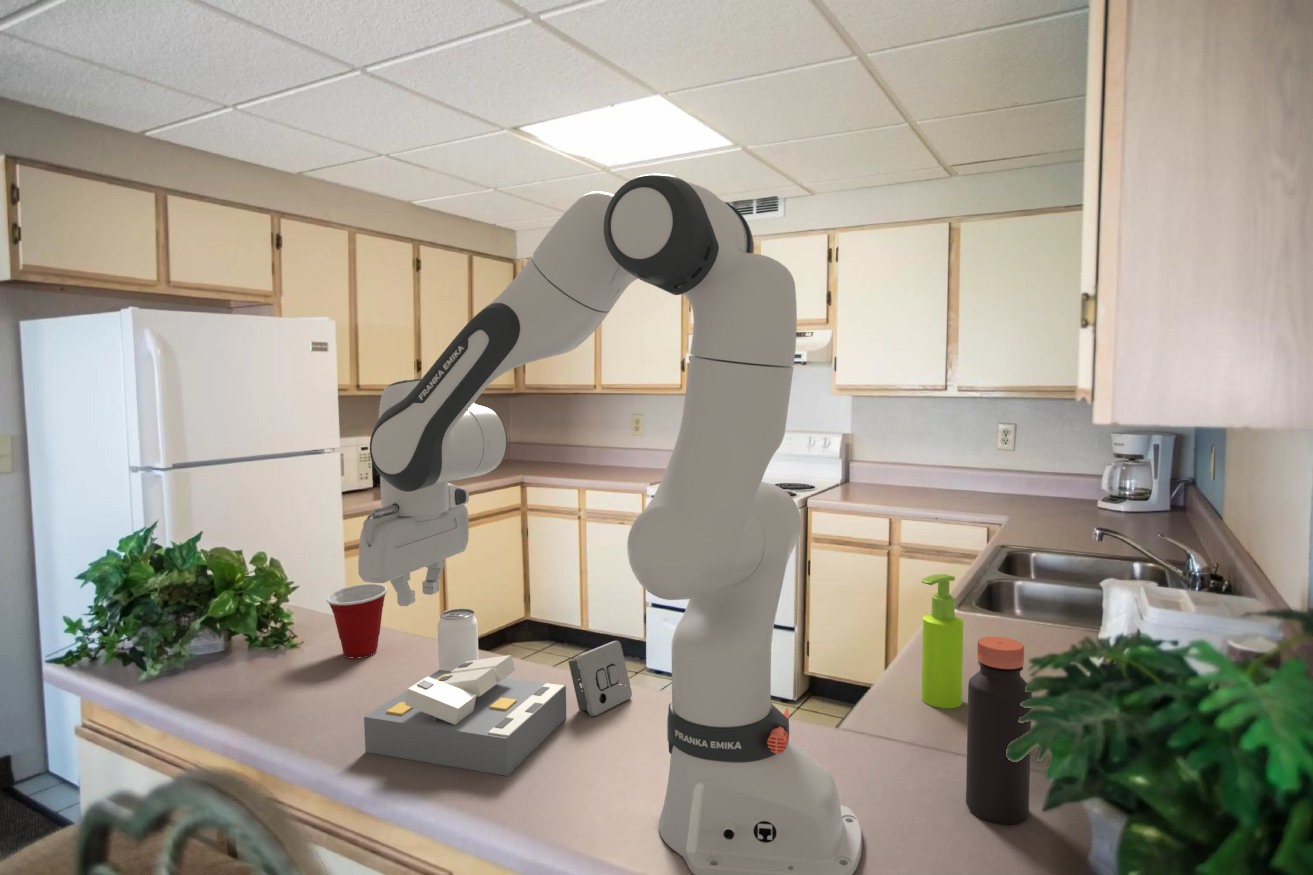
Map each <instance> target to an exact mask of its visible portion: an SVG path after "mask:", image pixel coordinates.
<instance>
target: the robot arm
mask: <svg viewBox="0 0 1313 875" xmlns="http://www.w3.org/2000/svg"><path fill="white" fill-rule="evenodd" d="M638 279H639V280H640V281H641V282H644V283H646V284H649V285H652V286H654V287H656V288H659V289H661V290H662V291H665V292H667V293H668V294H671V295H673V296H680V295H683V296H685V297H686V299H687V301H688V302H689V304H690V305H691V310H692V316H693V330H692V338H691V345H690V356H689V363H688V371H687V379H686V387H685V388H686V389H685V394H684V401H683V402H684V404H683V411H682V417H681V424H680V427H679V431H678V434H677V439H676V442H675V445H674V447H673V450H672V452H671V455H670V458H669V461H668V463H667V466H666V469H665V470H664V473H663V476H662V479H661V480H660V483H659V485H658V487H657V489H656V491H655V493H654V494H653V497H652V498H651V500H650V501H649V503H648V505H647V506H646V507H645V508H644V510H642V512H641V513H640V514H639V515H638V516H637V517H636V519H635V520H634V522H633V523H632V524H631V528H630V530H629V533H628V537H627V543H626V546H627V558H628V562H629V566H630V569H631V572H632V573H633V576H634V577H635V580H637V582H638V583H639V584H640V586H642V587H643V588H644V589H645V590H646V591H647V592H648V593H650V594H651V595H653V596H655V597H657V598H659V599H662V600H665V601H678V600H680V601H682V600H685V601H686V600H688V603H687V605H686V607H685V611H684V613H683V615H682V617H681V619H680V621H679V622H678V623H677V626H676V627H675V629H674V632H673V635H672V638H671V702H670V703H669V705H668V713H667V717H666V718H667V720H666V721H667V723H666V726H667V727H666V729H667V730H666V731H667V732H666V735H667V737H666V738H667V739H666V740H667V742H668V744H667V745H668V753H669V754H670V760H669V761H670V762H669V772H668V780H667V786H666V793H665V798H664V803H663V806H662V810H661V813H660V816H659V819H658V830H659V834H660V836H661V838H662V839H663V841H664V842H665V843H666V845H667V846H669V848H671V849H672V850H673V851H674V852H676V853H677V854H679V855H680V856H681V857H682V858H683V859H684V861H685V863H686V865H687V867H688V868H689V870H690V871H691V873H692V874H693V875H854V873H855V872H856V870H857V868H858V866H859V863H860V859H861V857H862V851H863V850H862V848H863V837H862V827H861V824H860V822H859V819H858V817H857V816H856V814H855V813H854V812H853V811H852V809H851V808H850V807H849V806H846V805H843V804H841V802H840V796H839V793H838V788H837V786H836V782H835V780H834V778H833V776H832V774H831V773H830V771H829V770H828V769H827V768H826V767H825V766H823V765H822V764H821V763H819V761H817V760H816V759H814V758H813V757H812V756H810V755H809V754H808V753H806V752H805V751H804V750H803V749H802V748H800V747H799V746H798V745H796V743H794V742H793V741H791V739H790V721H789V720H790V718H789V717H790V713H789V712H790V711H789V708H788V707H786V708H785V709H784V712H783V713H782V712H781V710H779V709H778V708H777V707H776V706H775V705H774V704H773V703H772V701H771V693H772V692H771V689H772V688H771V683H772V681H771V680H772V644H773V643H772V642H773V634H774V627H775V622H776V617H777V612H778V611H777V610H778V607H779V602H780V597H781V593H782V589H783V584H784V579H785V574H786V570H787V568H788V563H789V560H790V557H791V555H792V553H793V550H794V548H795V546H796V545H797V543H798V541H799V539H800V535H801V530H802V519H801V513H800V510H799V507H798V505H797V504H796V502H795V500H794V499H793V497H792V496H791V495H790V493H788V492H787V491H786V490H785V489H784V488H782V487H780V486H779V485H776V484H773V483H769V482H765V481H762V480H763V478H764V475H765V473H766V472H767V469H768V466H769V465H770V464H769V463H770V462H771V460H772V458H773V456H774V455H775V453H776V452H777V451H778V450H779V448H780V447H781V445H782V442H783V440H784V438H785V434H786V426H787V420H788V419H787V418H788V412H789V403H790V397H791V396H790V395H791V389H792V381H793V374H794V373H793V372H794V366H795V358H796V357H795V356H796V350H797V349H796V347H797V346H796V345H797V327H798V326H797V323H798V315H797V311H798V310H797V309H798V308H797V307H798V306H797V293H796V292H797V291H796V282H795V279H794V276H793V275H792V272H791V271H790V270H789V269H788V267H786V265H784V264H783V263H782V262H780V261H778V260H776V259H774V258H772V257H770V256H767V255H765V254H759V253H754V238H753V235H752V231H751V228H750V226H749V223H748V222H747V220H746V219H745V217H744V215H743V214H742V213H740V211H739V210H738V209H737V208H736V207H734V206H733V204H730V203H728V202H726V201H724V200H722V199H721V198H719V196H717V195H716V194H715V193H714V192H712V191H711V190H709V189H707V188H705V187H703V186H701V185H697V184H695V183H692V182H689V181H686V180H684V179H682V178H680V177H677V176H675V175H671V174H665V173H664V174H663V173H649V174H643V175H640V176H637V177H634V178H632V179H631V180H629V181H627V182H625V183H624V184H623V185H621V187H620V188H618V190H617V191H616V192H615V193H614V194H612V193H609V192H606V191H605V192H604V191H591V192H589V193H586V194H583V195H582V196H580V197H579V198H577V200H576V201H575V202H573V204H572V205H571V206H570V207H569V208H568V209H567V210H566V211H565V213H563V214H562V216H561V217H559V219H558V220H557V221H556V222H555V224H554V225H553V226H552V227H551V229H549V231H548V232H547V233H546V235H544V237H543V239H542V240H541V241H540V243H539V244H538V246H537V247H536V249H535V250H534V252H533V253H532V255H531V256H530V257H529V259H528V261H527V262H526V263H525V265H524V266H523V268H521V270H520V271H519V273H518V274H517V275H516V277H514V279H513V280H512V281H511V282H510V283H509V284H508V286H506V288H504V290H503V291H502V292H501V293H500V294H499V295H498V296H496V297H495V298H494V299H493V300H492V301H491V302H490V303H488V305H486V306H485V307H484V308H483V309H481V310H480V311H478V313H476V314H475V315H474V317H472V318H471V319H470V320H469V321H468V323H467V324H466V325H465V326H464V327H463V328H462V329H461V330H460V332H458V334H457V335H456V336H455V337H454V339H452V341H451V342H450V343H449V344H448V346H447V347H446V349H445V350H444V351H443V352H442V353H441V355H439V357H438V358H437V359H436V361H435V362H434V363H433V365H432V366H431V367H430V368H429V370H428V371H427V372H426V373H425V374H424V375H423V377H422V378H413V379H406V380H401V381H396V382H393V383H391V384H389V385H387V386H386V387H385V388H384V389H383V391H382V394H381V398H380V402H379V409H378V420H377V422H376V423H375V425H374V426H373V430H372V433H371V436H370V442H369V456H370V458H371V459H370V460H371V461H372V464H373V466H374V468H375V470H376V471H377V473H378V474H379V475H380V477H379V479H380V480H379V481H380V482H379V483H380V502H381V503H380V504H381V507H380V508H379V507H378V508H374V509H372V510H370V512H369V514H368V516H367V517H366V519H364V520H363V524H362V529H361V532H360V536H359V537H360V538H359V545H358V562H357V564H358V570H357V571H358V576H359V577H360V579H361V581H363V582H365V583H371V584H384V583H387V582H390V584H391V585H392V587H393V589H394V591H395V592H396V596H397V597H396V598H397V599H396V600H397V604H398V606H400V607H408V606H410V605H412V604H414V603H416V598H415V597H416V591H415V590H414V589H413V590H412V589H411V588H410V585H409V581H410V580H411V573H413V572H414V571H418V570H420V569H422V568H427V571H426V576H425V580H424V581H422V583H421V585H422V593H423V594H424V595H429V596H433V595H435V594H436V593H438V592H440V580H441V576H442V573H443V571H444V567H445V560H446V559H448V558H451V557H454V556H456V555H459V554H461V553H464V552H465V551H466V549H467V546H468V544H469V537H470V535H469V534H470V531H469V530H470V529H469V528H470V525H469V523H470V521H469V511H468V508H467V506H466V505H467V504H468V503H469V501H470V500H469V499H470V492H469V490H468V489H467V488H465V487H461V486H458V485H455V484H453V483H450V482H455V481H460V480H464V479H468V478H474V477H480V476H483V475H486V474H488V473H490V472H491V473H492V472H493V471H495V470H496V469H498V468H499V466H500V465H501V464H502V463H503V460H504V459H505V457H506V454H507V450H508V433H507V430H506V429H507V428H506V426H505V424H504V421H503V419H502V418H501V417H500V415H499V414H498V413H497V412H496V411H495V410H494V409H493V408H491V407H489V406H486V405H479V404H477V403H476V400H478V399H479V397H480V396H481V395H482V394H483V392H485V390H486V389H487V387H488V386H490V384H491V383H493V382H494V381H495V380H496V379H497V378H499V377H501V376H502V375H503V374H505V373H508V372H509V371H512V370H513V369H516V368H518V367H520V366H523V365H526V364H530V363H533V362H536V361H540V360H544V359H547V358H551V357H556V356H560V355H563V354H566V353H569V352H572V351H574V350H576V349H577V348H578V347H580V346H581V345H582V343H584V341H586V340H587V339H588V338H590V337H591V336H592V334H594V332H595V331H596V330H597V329H598V328H599V327H600V326H601V324H602V323H603V321H604V320H605V319H606V317H607V316H608V315H609V313H610V312H611V310H612V309H613V307H614V306H615V304H616V303H617V302H618V300H619V299H620V297H621V296H622V294H623V293H624V291H625V290H627V288H628V287H629V286H630V285H631V284H632V283H633V282H635V281H636V280H638Z"/></svg>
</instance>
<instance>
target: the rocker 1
mask: <svg viewBox="0 0 1313 875" xmlns="http://www.w3.org/2000/svg"><path fill="white" fill-rule="evenodd" d="M407 690H408V691H407V697H406V703H405V705H407V706H409V707H412V708H414V709H417V710H419V711H422V712H424V713H427V714H429V715H432V716H434V717H437V718H439V719H442V720H444V721H447V722H449V723H452V724H454V725H456V724H457V723H458V722H460V721H461V720H462V719H464V718H465V717H466V716H468V715H469V714H470V713H472V712H473V710H474V705H475V700H476V695H475V694H472V693H469V692H467V691H464V690H462V689H459V688H456V687H454V686H451V685H449V684H446V683H443V682H441V681H438V680H436V679H433V678H430V677H429V676H426V677H423V679H421V680H419V681H417V682H415V684H413V685H411V686H410V687H408V688H407Z"/></svg>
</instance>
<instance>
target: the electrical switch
mask: <svg viewBox="0 0 1313 875" xmlns="http://www.w3.org/2000/svg"><path fill="white" fill-rule="evenodd" d="M568 666H569V670H570V675H571V680H572V683H573V689H574V693H575V697H576V698H575V699H576V702H577V706H578V710H579V711H586V712H588V714H589V716H590V717H594V716H595V717H596V716H598V715H600V714H602V713H604V712H605V711H608V710H609V709H611V708H614V707H615V706H618V705H619V704H622V703H624V702H626V701H628V700H630V699H631V698H632V695H633V691H632V688H631V687H630V686H631V683H630V678H629V674H628V670H627V669H628V668H627V665H626V661H625V656H624V652H623V648H622V643H621V642H620V641H619V640H613V641H611V642H608V643H605V644H602V645H601V646H598V647H595V648H593V649H590V650H587V651H586V652H583V653H581V654H579V655H577V656H576V657H575V658H572V659H570V660H568ZM619 684H622V685H619ZM625 685H626V686H625Z"/></svg>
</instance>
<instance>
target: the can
mask: <svg viewBox="0 0 1313 875" xmlns="http://www.w3.org/2000/svg"><path fill="white" fill-rule="evenodd" d="M439 617H440V618H439V619H438V620H439V621H438V623H437V647H438V648H437V650H438V671H439V670H445V671H452V670H454V669H456V668H457V667H459V666H460V665H462V664H463V663H465V662H466V661H472V660H479V633H478V632H479V629H478V619H477V617H476V616H475V611H474V610H473V609H469V608H454V609H448V610H444V611H443V612H441V613H440V614H439Z"/></svg>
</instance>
